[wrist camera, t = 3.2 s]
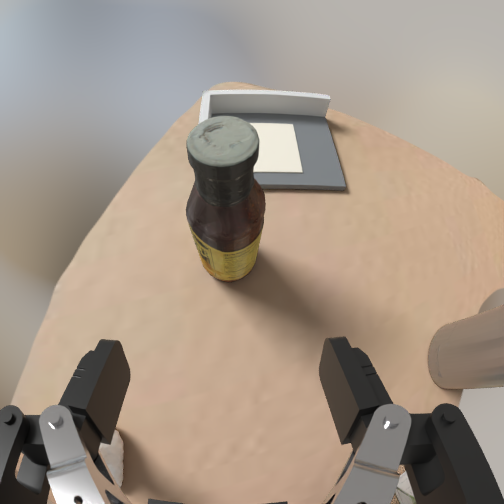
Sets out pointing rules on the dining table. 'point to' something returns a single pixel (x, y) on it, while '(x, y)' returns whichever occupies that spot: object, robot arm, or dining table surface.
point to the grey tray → (284, 136)
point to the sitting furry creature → (114, 457)
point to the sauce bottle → (225, 196)
